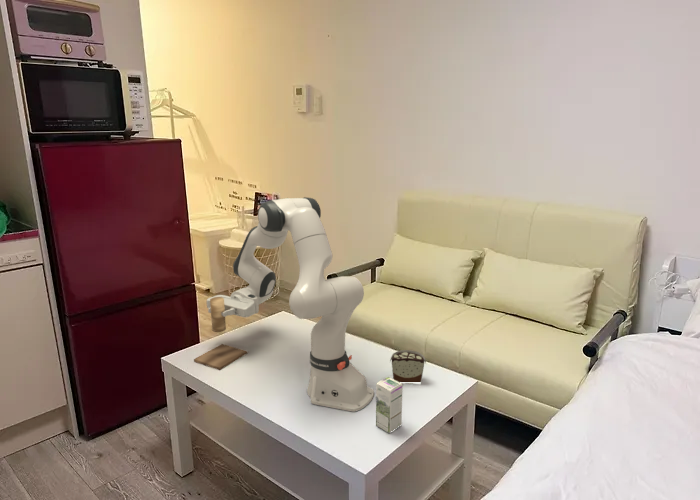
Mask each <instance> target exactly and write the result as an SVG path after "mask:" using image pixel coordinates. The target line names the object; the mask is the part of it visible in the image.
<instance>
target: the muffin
mask: <svg viewBox="0 0 700 500" xmlns="http://www.w3.org/2000/svg"><path fill="white" fill-rule="evenodd" d="M389 359H390V360H389V362H391V368H392V379H394V380H396V381H398V382H421V383H422V381H423V375H424V367H425V364H427V360H426V357H425V355H423V354H422V353H421V352H418V351H415V350H410V349H402V350H398V351H395V352H393V353H392V354H391V356H390V358H389Z"/></svg>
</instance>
